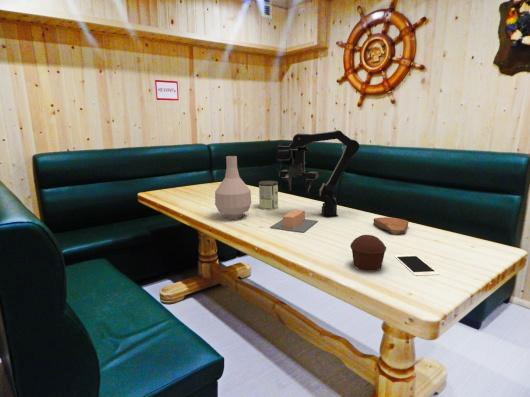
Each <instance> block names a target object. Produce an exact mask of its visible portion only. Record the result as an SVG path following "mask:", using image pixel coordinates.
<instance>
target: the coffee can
mask: <svg viewBox="0 0 530 397" xmlns="http://www.w3.org/2000/svg"><path fill="white" fill-rule="evenodd" d="M258 189H259V193H258V194H259V195H258V197H259V209H260V210H263V211H273V210H277V209H279V191H278V190H279V181H277V180H261V181H259V182H258Z"/></svg>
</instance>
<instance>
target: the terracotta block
mask: <svg viewBox="0 0 530 397" xmlns="http://www.w3.org/2000/svg"><path fill="white" fill-rule="evenodd" d="M282 219H283V227H285V228H292V229H293V228H295V227H296V226H298V225H299V224H301V223H303V222H304V221H305V219H306V211H305V210H303V209H294V210H292V211H289V212H288V213H286V214H284V215H282Z"/></svg>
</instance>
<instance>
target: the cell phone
mask: <svg viewBox="0 0 530 397" xmlns="http://www.w3.org/2000/svg"><path fill="white" fill-rule="evenodd" d="M393 257H394V258H395V259H396V260H397V261H399V263H401V264H402V265H403V266H404V267H405V268H406V269H407V270H408V271H409V272H411V273H412V274H413V276H414V277H415V276H416V277H421V276H422V277H423V276H424V277H425V276H426V277H427V276H438V275H440V273H439V272H438V271H437V270H435V269H434V268H433V267H432V266H431V265H429V264H428V263H427V262H425V261H424V260H423V259H422V258H421V257H419V256H418V255H417V254H397V255H393Z"/></svg>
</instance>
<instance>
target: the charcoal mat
mask: <svg viewBox="0 0 530 397" xmlns="http://www.w3.org/2000/svg"><path fill="white" fill-rule="evenodd" d="M318 222H319V220H316V219H307V218H305V221H304V222H303V223H301V224H299V225H298V226H296V227H295V228H293V229H292V228H285V227H283V218H282V219H281V220H279V221H278V222H276V223H274V224H273V225H270V227H269V229H274V230H281V231H287V232H295V233H302V234H304V233H306V232H307V231H308V230H310V229H311V228H312V227H313V226H315V225H316V224H317V223H318Z"/></svg>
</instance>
